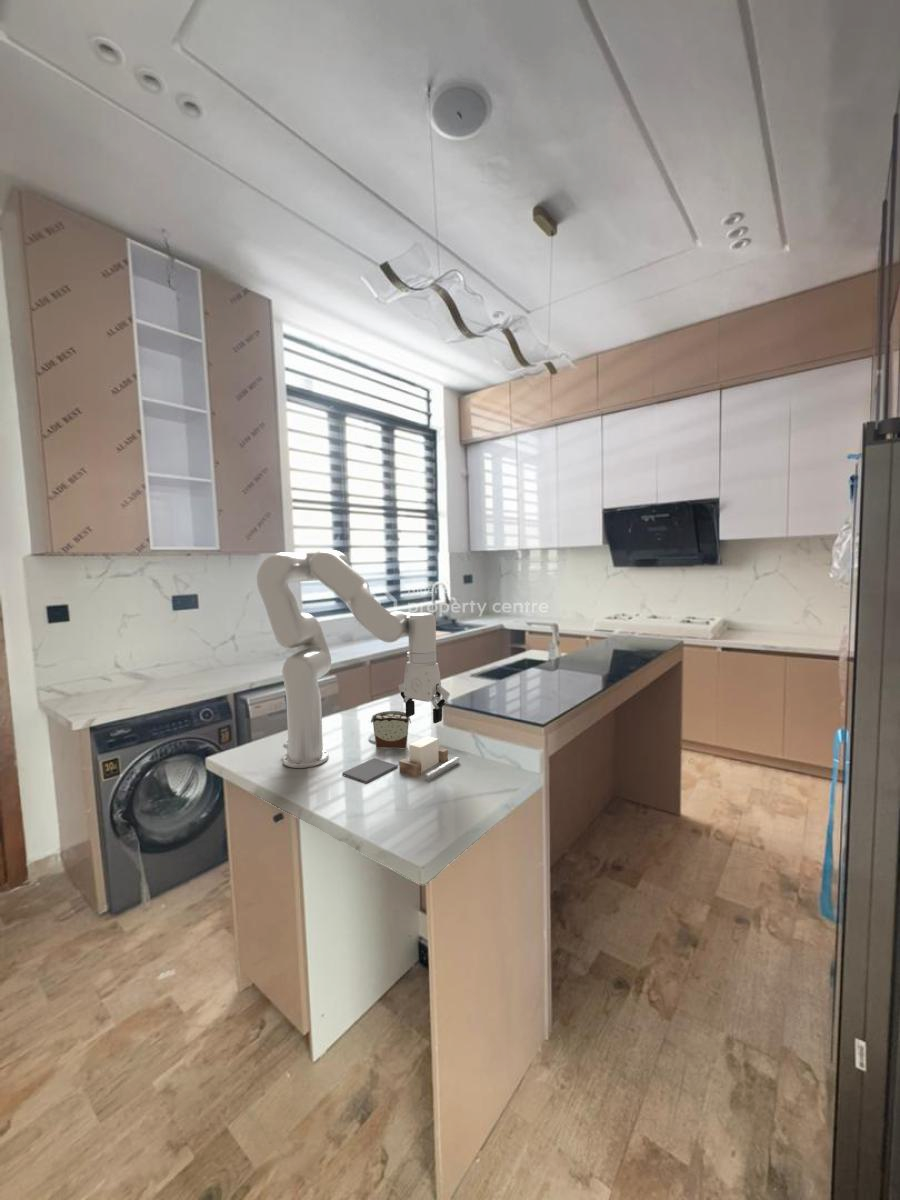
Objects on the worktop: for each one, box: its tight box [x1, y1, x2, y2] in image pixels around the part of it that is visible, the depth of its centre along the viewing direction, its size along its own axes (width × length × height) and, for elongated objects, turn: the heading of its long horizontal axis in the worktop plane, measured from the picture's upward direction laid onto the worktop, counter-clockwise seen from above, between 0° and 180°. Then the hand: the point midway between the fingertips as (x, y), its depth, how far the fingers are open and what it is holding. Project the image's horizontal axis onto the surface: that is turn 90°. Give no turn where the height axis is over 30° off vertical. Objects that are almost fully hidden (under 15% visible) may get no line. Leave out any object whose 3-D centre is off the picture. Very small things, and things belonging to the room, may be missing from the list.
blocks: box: [398, 746, 460, 782], centre depth 135 cm, size 10×14×3 cm
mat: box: [342, 757, 399, 784], centre depth 133 cm, size 9×12×1 cm
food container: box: [370, 710, 412, 750], centre depth 152 cm, size 12×6×10 cm, turn 84°
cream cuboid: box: [408, 735, 440, 773], centre depth 136 cm, size 4×8×7 cm, turn 144°
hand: (423, 718), depth 135 cm, fingers open, 9 cm apart
